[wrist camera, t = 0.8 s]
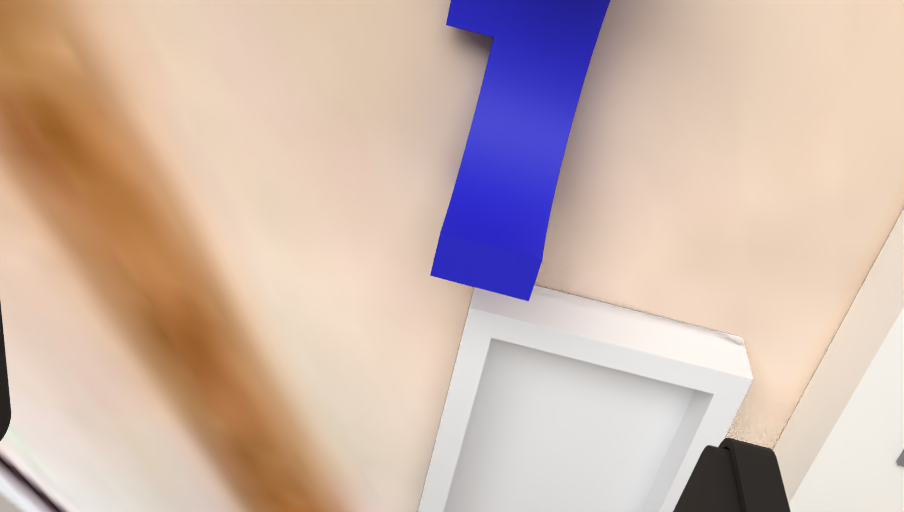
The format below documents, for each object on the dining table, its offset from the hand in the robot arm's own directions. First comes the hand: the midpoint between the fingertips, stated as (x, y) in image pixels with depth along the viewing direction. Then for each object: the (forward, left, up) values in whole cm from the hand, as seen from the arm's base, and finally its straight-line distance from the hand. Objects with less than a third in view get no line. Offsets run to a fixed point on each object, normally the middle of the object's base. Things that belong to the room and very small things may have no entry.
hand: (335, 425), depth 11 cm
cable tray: (-6, +18, -19) cm, 26 cm away
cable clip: (-1, 0, -19) cm, 19 cm away
